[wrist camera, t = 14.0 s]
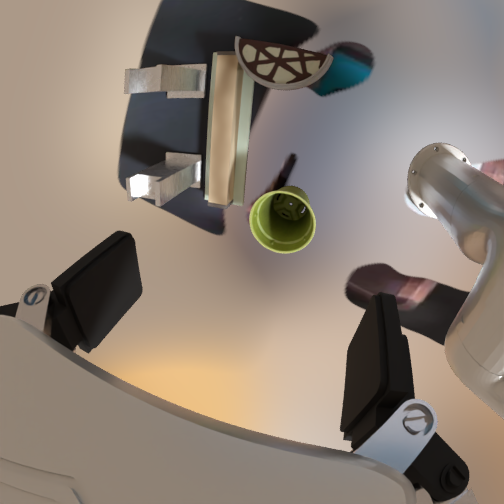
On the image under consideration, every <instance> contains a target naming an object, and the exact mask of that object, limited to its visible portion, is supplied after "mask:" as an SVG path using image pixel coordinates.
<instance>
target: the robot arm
mask: <svg viewBox="0 0 504 504" xmlns="http://www.w3.org/2000/svg"><path fill="white" fill-rule="evenodd" d="M434 147H436V149H435V150H434ZM462 159H463V160H462ZM413 170H414V173H412V171H413ZM407 180H408V190H409V194H410V196H411V198H412V200H413V202H414V204H415V205H416V206H417V208H418V209H419V210H420V211H421V212H423V213H424V214H425V215H427V216H429V217H432V218H435V219H438V220H439V221H440V222H441V224H442V225H443V226H444V228H445V229H446V230H447V232H448V233H449V235H450V236H451V238H452V239H453V240H454V242H455V243H456V245H457V246H458V247H459V249H460V250H461V251H462V253H463V254H464V255H465V256H466V257H467V258H469V259H470V260H472V261H474V262H476V263H479V264H483V267H482V269H481V271H480V273H479V275H478V277H477V280H476V282H475V284H474V286H473V288H472V290H471V292H470V293H469V295H468V297H467V299H466V300H465V302H464V304H463V306H462V307H461V309H460V311H459V312H458V314H457V316H456V317H455V319H454V321H453V322H452V324H451V326H450V328H449V330H448V332H447V335H446V339H445V354H446V358H447V361H448V363H449V365H450V367H451V369H452V370H453V372H454V373H455V375H456V376H457V377H458V378H459V379H460V380H461V382H462V383H463V384H464V385H466V386H467V387H468V388H469V389H470V390H471V391H472V392H473V393H474V394H476V395H477V396H478V397H479V398H480V399H481V400H482V401H483V402H484V403H486V404H487V405H488V406H489V407H490V408H491V409H492V410H494V411H495V412H496V413H497V414H498V415H499V416H500V417H502V419H504V186H503V185H502V184H500V183H499V182H497V181H495V180H494V179H492V178H491V177H489V176H487V175H486V174H484V173H482V172H481V171H479V170H477V169H476V168H474V167H472V166H471V163H470V161H469V160H468V158H467V157H466V156H465V154H464V153H463V152H462V151H461V150H459V149H458V148H456V147H454V146H452V145H450V144H446V143H434V144H431V145H428V146H426V147H424V148H423V149H422V150H421V151H419V152H418V153H417V154H416V156H415V157H414V158H413V160H412V162H411V164H410V167H409V171H408V179H407ZM420 203H421V205H419V204H420ZM51 284H52V287H53V291H50V289H49V287H48V286H47V285H44V284H37V285H34V286H32V287H30V288H28V289H27V290H26V291H25V292H24V293H23V294H22V296H21V299H20V302H18V303H13V304H9V305H4V306H0V504H478V503H477V500H476V498H475V496H474V493H473V491H472V489H469V490H468V489H467V485H468V481H469V470H468V467H467V465H466V464H465V462H464V461H463V460H462V459H461V458H460V457H459V456H458V455H457V454H456V453H455V452H454V451H453V450H452V449H451V448H450V447H449V446H448V444H447V443H445V441H444V440H443V439H442V438H441V437H440V436H439V435H438V434H437V433H436V432H435V431H436V428H437V423H438V421H437V415H436V413H435V411H434V409H433V408H432V407H431V405H430V404H428V403H427V402H425V401H423V400H420V399H415V396H414V385H413V375H412V367H411V359H410V352H409V345H408V339H407V337H406V335H403V334H402V332H401V326H400V320H399V314H398V309H397V303H396V298H395V296H394V295H391V294H387V293H382V292H379V293H378V295H373V296H372V298H371V300H370V302H369V304H368V307H367V309H366V311H365V314H364V315H363V318H362V320H361V322H360V324H359V326H358V328H357V331H356V333H355V334H354V337H353V339H352V341H351V343H350V345H349V347H348V351H347V363H346V377H345V390H344V400H343V409H342V417H341V425H340V431H341V432H344V439H343V440H349V441H352V443H351V447H352V448H353V450H352V451H351V452H346V451H342V450H336V449H331V448H326V447H321V446H316V445H311V444H306V443H301V442H296V441H292V440H287V439H283V438H279V437H275V436H271V435H267V434H263V433H259V432H255V431H251V430H248V429H245V428H241V427H238V426H235V425H231V424H228V423H225V422H222V421H219V420H215V419H213V418H210V417H207V416H204V415H202V414H199V413H196V412H194V411H191V410H188V409H186V408H183V407H181V406H178V405H176V404H173V403H171V402H168V401H166V400H164V399H161V398H159V397H157V396H155V395H152V394H150V393H148V392H146V391H144V390H142V389H140V388H137V387H135V386H133V385H131V384H129V383H127V382H125V381H123V380H121V379H119V378H117V377H116V376H114V375H112V374H110V373H108V372H106V371H104V370H103V369H101V368H99V367H97V366H96V365H94V364H92V363H90V362H88V361H87V360H85V359H84V358H82V357H80V356H79V355H77V354H76V353H75V352H76V348H75V347H76V346H77V345H78V346H79V347H80V349H82V350H84V351H85V352H87V353H89V352H90V351H91V350H92V349H93V348H96V347H97V346H98V345H99V344H100V343H101V341H102V340H103V339H104V338H105V336H106V335H107V334H108V333H109V332H110V331H111V330H112V328H113V327H114V326H115V325H116V324H117V322H118V321H119V320H120V319H121V318H122V317H123V316H124V314H125V313H126V312H127V311H128V310H129V309H130V308H131V306H132V305H133V304H134V303H135V302H136V301H137V300H138V298H139V297H140V296H141V294H142V283H141V278H140V272H139V266H138V259H137V253H136V246H135V240H134V238H133V237H132V235H131V234H130V233H127V232H124V231H117V232H115V233H113V234H112V235H111V236H109V237H108V238H107V239H105V240H104V241H103V242H101V243H100V244H99V245H97V246H96V247H95V248H93V249H92V250H91V251H89V252H88V253H87V254H86V255H84V256H83V257H82V258H80V259H79V260H78V261H77V262H75V263H74V264H73V265H72V266H71V267H69V268H68V269H67V270H66V271H65V272H63V273H62V274H61V275H60V276H58V277H57V278H56V279H55V280H54V281H53V282H51Z"/></svg>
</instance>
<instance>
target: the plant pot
mask: <svg viewBox="0 0 504 504" xmlns="http://www.w3.org/2000/svg"><path fill="white" fill-rule="evenodd" d="M280 193H281V195H280V197H279V200H277V196H278V195H279V194H280ZM289 203H292V205H290V204H289ZM309 204H310V203H309V199H308V197H307V195H306V193H305V192H304V191H303V190H302V189H300V188H298V187H295V186H285V187H282V188H280V189H279V190H277V191H271V192H268V193H266V194H264V195H262V196H261V197H260V198H259V199H257V201H256V202H255V203H254V205H253V207H252V209H251V212H250V218H249V222H250V228H251V231H252V233H253V235H254V237H255V238H256V239H257V240H258V242H259V243H260V244H261V245H262V246H264V247H265V248H267V249H269V250H271V251H274V252H278V253H293V252H296V251H299V250H301V249H302V248H304V247H305V246H307V245H308V243H309V242H310V241H311V240H312V238H313V236H314V233H315V228H316V221H315V216H314V213H313V210H312V208H311V207H310V205H309ZM304 207H306V209H305V211H304V213H301V212H302V210H303V209H304ZM282 212H283V213H284V214H286V215H288V216H289V217H286V216H284V215H282Z"/></svg>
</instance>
